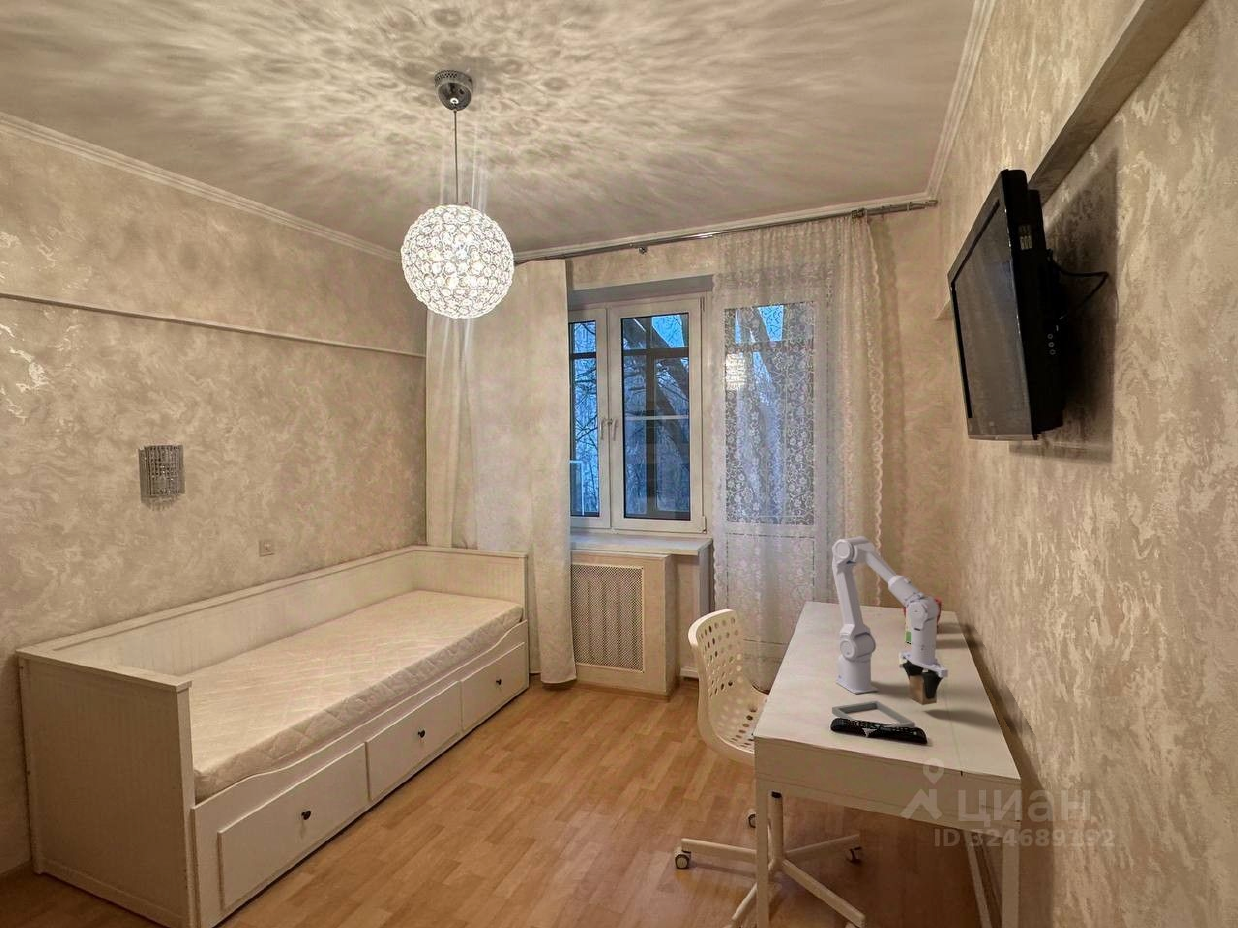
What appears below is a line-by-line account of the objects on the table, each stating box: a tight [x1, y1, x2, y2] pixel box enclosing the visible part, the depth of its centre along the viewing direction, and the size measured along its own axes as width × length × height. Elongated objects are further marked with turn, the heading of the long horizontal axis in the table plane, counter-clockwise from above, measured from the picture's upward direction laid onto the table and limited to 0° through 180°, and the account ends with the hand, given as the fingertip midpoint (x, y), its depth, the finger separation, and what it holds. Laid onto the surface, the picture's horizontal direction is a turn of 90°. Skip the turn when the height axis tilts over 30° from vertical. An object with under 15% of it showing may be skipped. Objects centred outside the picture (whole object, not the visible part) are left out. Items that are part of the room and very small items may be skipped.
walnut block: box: [909, 675, 938, 706], centre depth 159 cm, size 4×4×6 cm
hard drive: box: [898, 651, 928, 672], centre depth 195 cm, size 2×8×12 cm
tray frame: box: [831, 700, 916, 738], centre depth 155 cm, size 14×14×2 cm
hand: (923, 694), depth 159 cm, fingers closed on walnut block, 4 cm apart
